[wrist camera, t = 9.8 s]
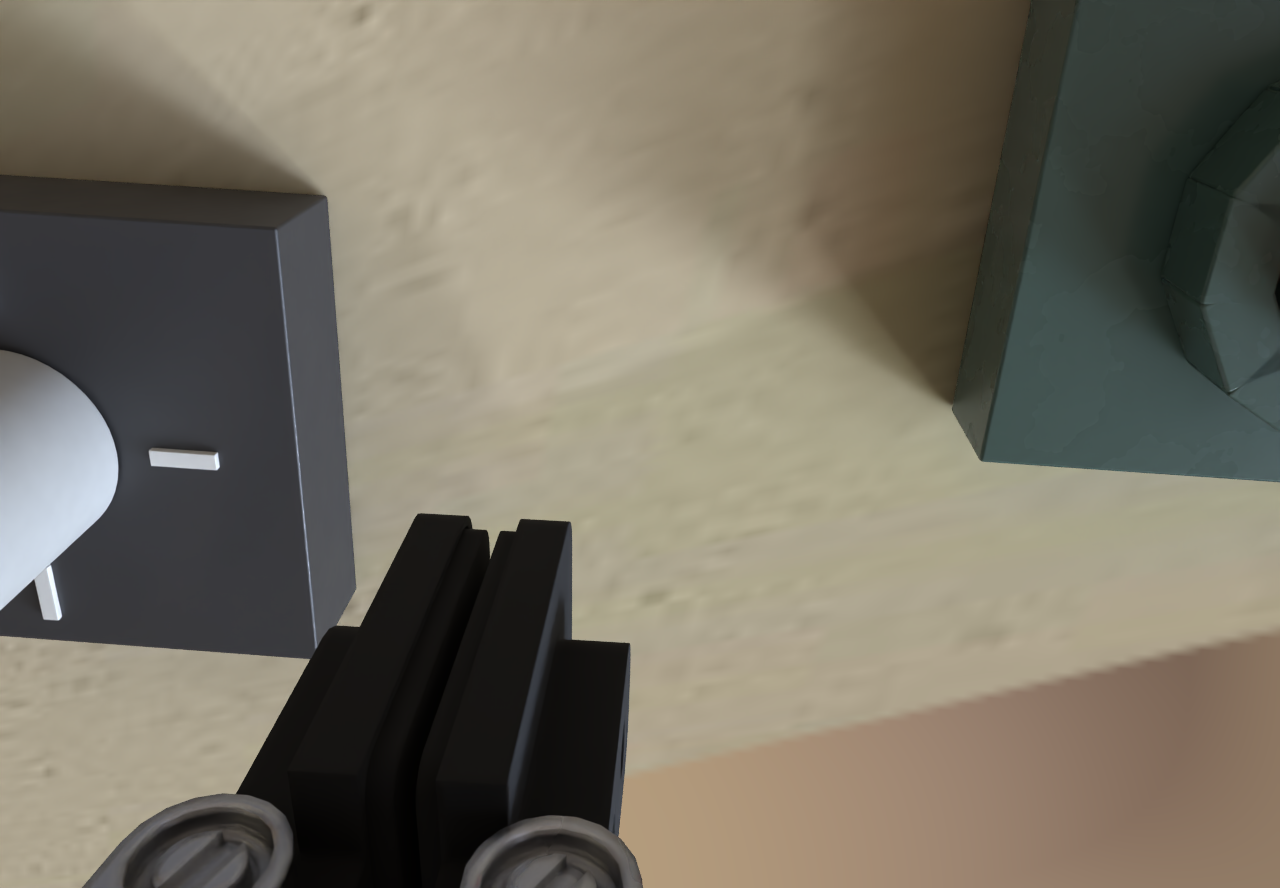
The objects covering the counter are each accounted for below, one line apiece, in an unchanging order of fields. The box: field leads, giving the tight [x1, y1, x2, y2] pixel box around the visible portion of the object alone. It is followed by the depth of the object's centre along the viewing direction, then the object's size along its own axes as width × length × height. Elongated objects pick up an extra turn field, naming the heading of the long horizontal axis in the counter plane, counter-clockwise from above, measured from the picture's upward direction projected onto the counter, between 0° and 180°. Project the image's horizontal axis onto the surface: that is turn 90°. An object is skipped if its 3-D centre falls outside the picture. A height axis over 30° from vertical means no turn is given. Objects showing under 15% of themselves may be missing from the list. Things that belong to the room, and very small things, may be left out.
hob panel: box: [0, 175, 356, 659], centre depth 23 cm, size 10×12×3 cm
